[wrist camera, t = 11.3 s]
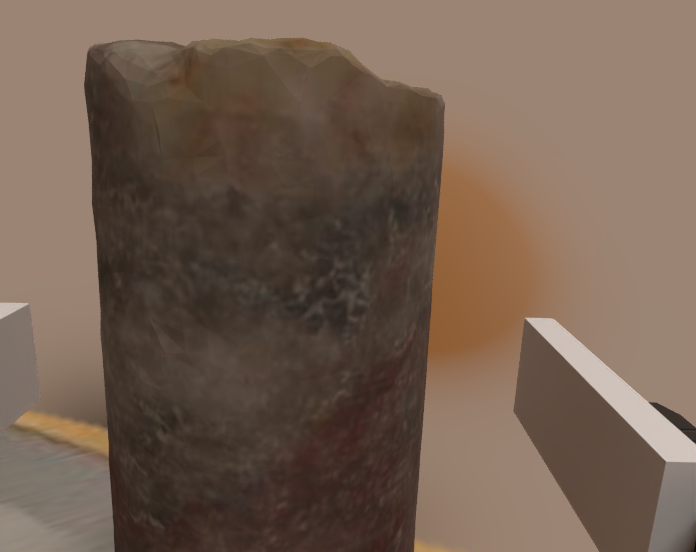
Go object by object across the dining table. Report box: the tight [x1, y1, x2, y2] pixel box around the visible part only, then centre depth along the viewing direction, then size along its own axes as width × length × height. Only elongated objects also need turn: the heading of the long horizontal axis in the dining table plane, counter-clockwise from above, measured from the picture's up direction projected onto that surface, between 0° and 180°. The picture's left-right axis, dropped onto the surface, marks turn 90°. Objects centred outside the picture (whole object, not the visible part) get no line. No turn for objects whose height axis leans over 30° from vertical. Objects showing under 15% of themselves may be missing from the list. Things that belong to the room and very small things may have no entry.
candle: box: [84, 38, 445, 552], centre depth 13 cm, size 8×7×20 cm
